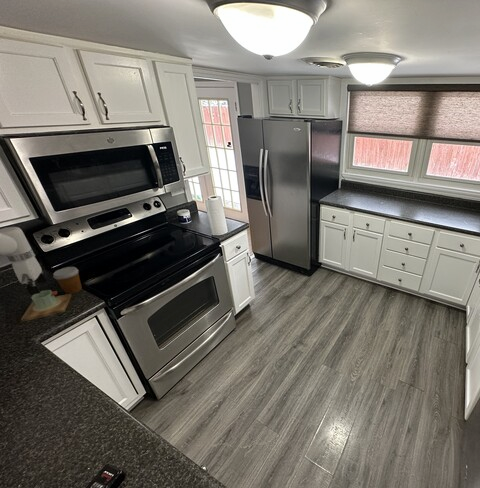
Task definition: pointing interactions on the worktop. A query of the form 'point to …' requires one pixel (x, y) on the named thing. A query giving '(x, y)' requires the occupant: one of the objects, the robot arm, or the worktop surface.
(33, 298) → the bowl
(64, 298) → the base
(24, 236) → the robot arm
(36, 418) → the worktop surface
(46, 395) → the worktop surface
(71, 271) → the disposable coffee cup
